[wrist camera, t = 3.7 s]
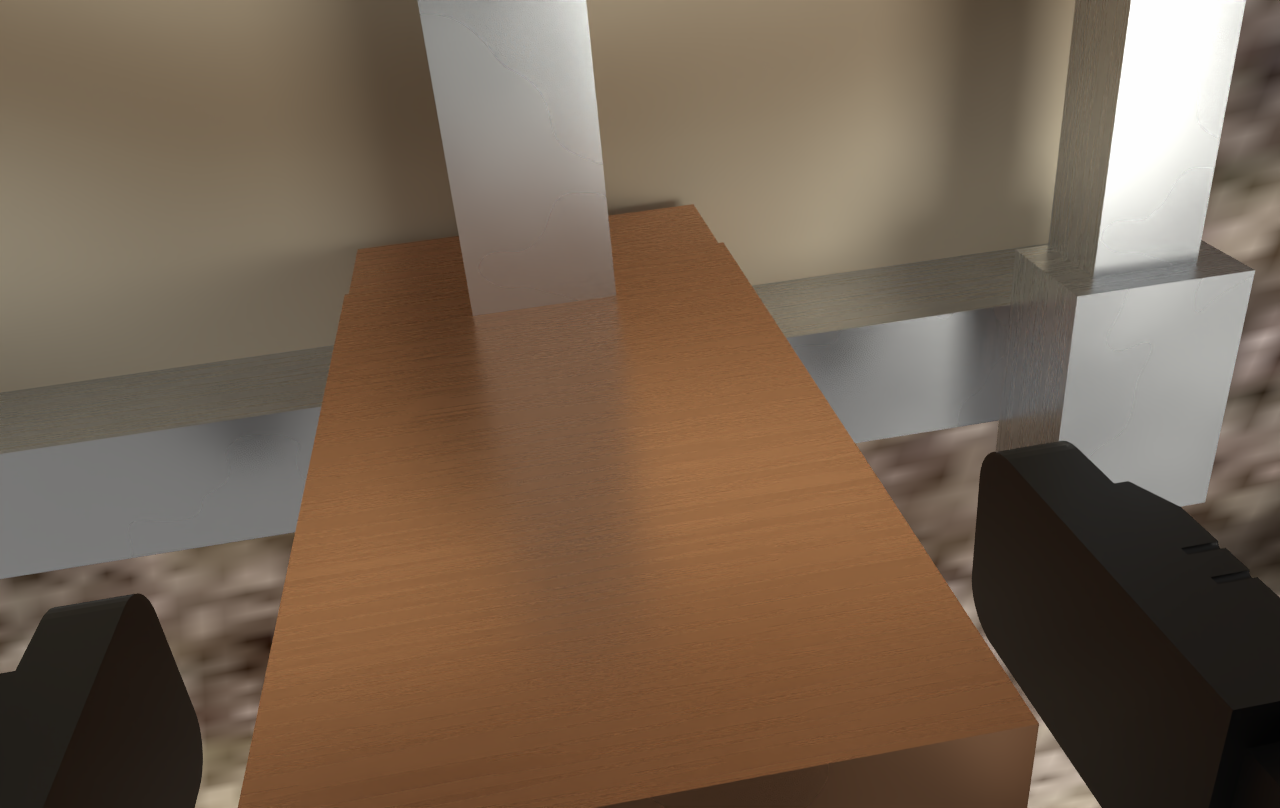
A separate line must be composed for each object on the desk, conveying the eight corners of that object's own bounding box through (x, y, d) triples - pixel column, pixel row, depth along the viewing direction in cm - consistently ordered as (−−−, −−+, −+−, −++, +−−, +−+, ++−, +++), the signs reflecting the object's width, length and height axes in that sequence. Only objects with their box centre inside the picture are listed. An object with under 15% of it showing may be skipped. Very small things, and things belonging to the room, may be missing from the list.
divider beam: (-865, -61, 10) (-1350, -15, 7) (1206, -258, 12) (1427, -279, 9) (-379, 615, 14) (-574, 805, 11) (1109, 381, 15) (1243, 496, 13)
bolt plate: (-1100, -625, 9) (-1330, -690, 8) (1206, -734, 11) (1295, -798, 9) (-321, 558, 15) (-384, 619, 13) (1067, 346, 16) (1113, 385, 15)
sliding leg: (258, -192, 10) (-238, -211, 3) (668, -229, 11) (1185, -336, 3) (424, 544, 15) (403, 1305, 7) (711, 498, 15) (975, 1172, 8)
